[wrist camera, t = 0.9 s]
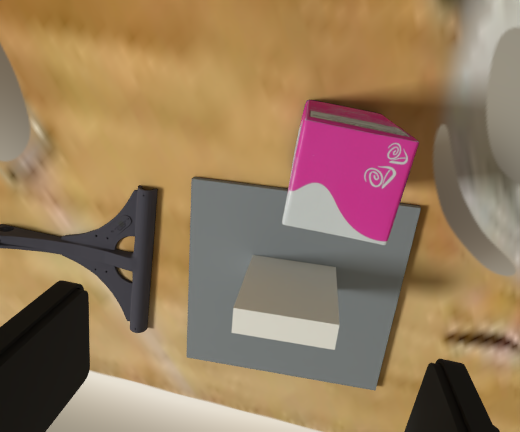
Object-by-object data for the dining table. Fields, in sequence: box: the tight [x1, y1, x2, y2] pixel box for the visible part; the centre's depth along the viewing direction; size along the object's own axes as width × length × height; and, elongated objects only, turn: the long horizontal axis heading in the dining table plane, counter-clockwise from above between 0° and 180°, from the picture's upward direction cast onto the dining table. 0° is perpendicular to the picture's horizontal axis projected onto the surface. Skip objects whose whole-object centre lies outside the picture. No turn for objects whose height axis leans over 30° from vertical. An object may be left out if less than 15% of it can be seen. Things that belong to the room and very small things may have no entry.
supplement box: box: [282, 100, 419, 245], centre depth 25 cm, size 6×6×12 cm
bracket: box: [0, 185, 158, 333], centre depth 37 cm, size 14×15×3 cm
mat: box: [187, 177, 421, 390], centre depth 35 cm, size 18×18×1 cm
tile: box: [231, 255, 339, 350], centre depth 31 cm, size 2×7×8 cm, turn 85°
